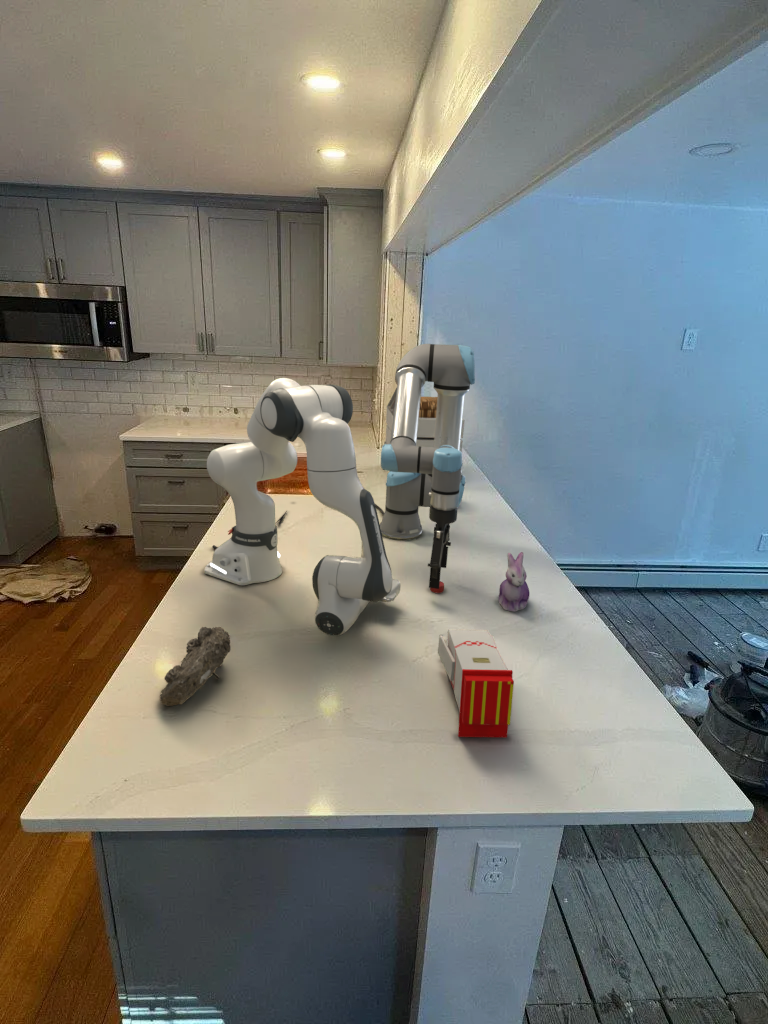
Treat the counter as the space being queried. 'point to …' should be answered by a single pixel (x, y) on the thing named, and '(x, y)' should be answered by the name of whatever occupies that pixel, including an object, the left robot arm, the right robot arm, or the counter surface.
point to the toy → (478, 682)
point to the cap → (441, 588)
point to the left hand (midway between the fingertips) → (370, 572)
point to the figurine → (514, 585)
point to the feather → (281, 518)
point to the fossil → (196, 665)
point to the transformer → (424, 424)
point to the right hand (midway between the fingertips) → (437, 577)
